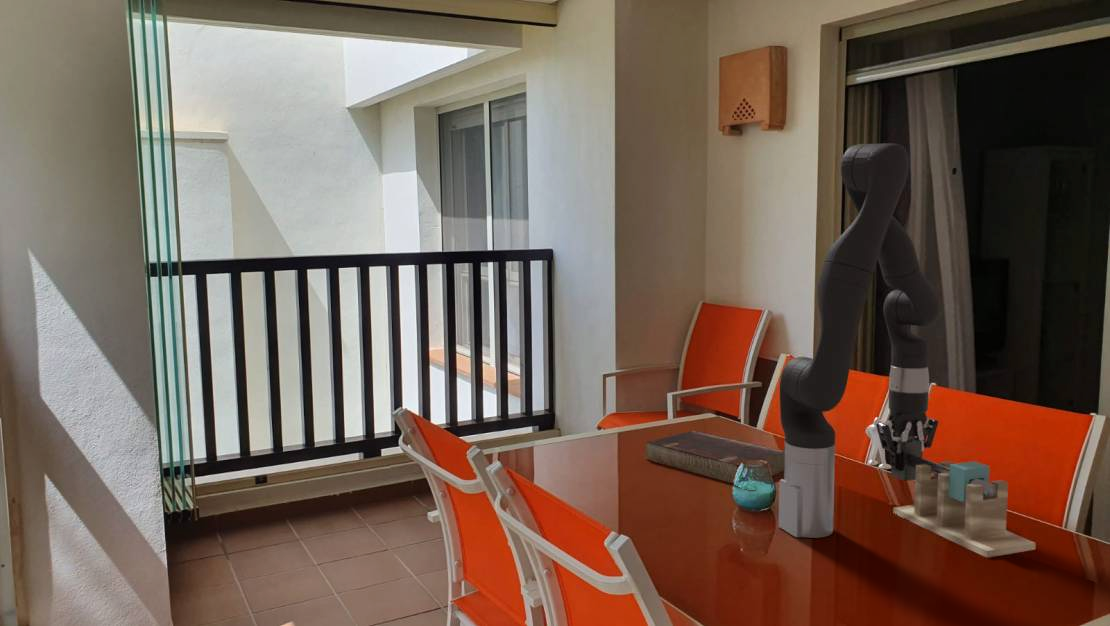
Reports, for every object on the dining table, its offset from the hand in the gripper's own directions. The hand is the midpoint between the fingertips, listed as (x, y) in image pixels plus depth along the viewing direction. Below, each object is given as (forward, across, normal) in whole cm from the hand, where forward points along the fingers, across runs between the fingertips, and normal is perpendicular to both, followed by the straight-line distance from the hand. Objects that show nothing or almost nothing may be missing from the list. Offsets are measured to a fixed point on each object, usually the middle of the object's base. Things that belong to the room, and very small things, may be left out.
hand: (906, 468), depth 176 cm
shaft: (+2, 0, -10) cm, 10 cm away
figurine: (+8, +13, +25) cm, 29 cm away
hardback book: (+8, -22, +40) cm, 46 cm away
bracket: (+8, 0, -15) cm, 17 cm away
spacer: (+1, 0, -17) cm, 17 cm away
